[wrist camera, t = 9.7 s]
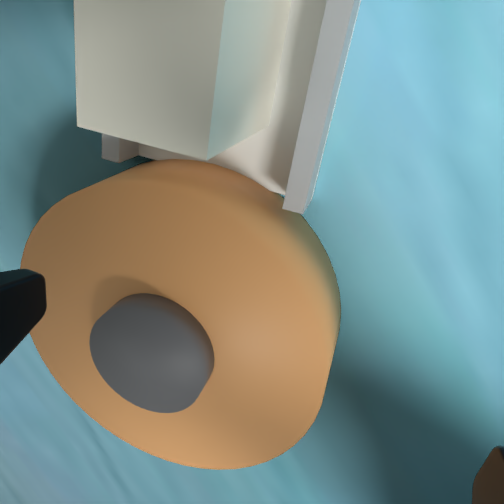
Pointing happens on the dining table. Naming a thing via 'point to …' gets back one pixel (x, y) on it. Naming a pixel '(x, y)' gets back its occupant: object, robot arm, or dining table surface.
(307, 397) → the orange and grey base
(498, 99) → the dining table surface
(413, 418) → the dining table surface
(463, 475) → the dining table surface
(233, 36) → the cream rectangular block
